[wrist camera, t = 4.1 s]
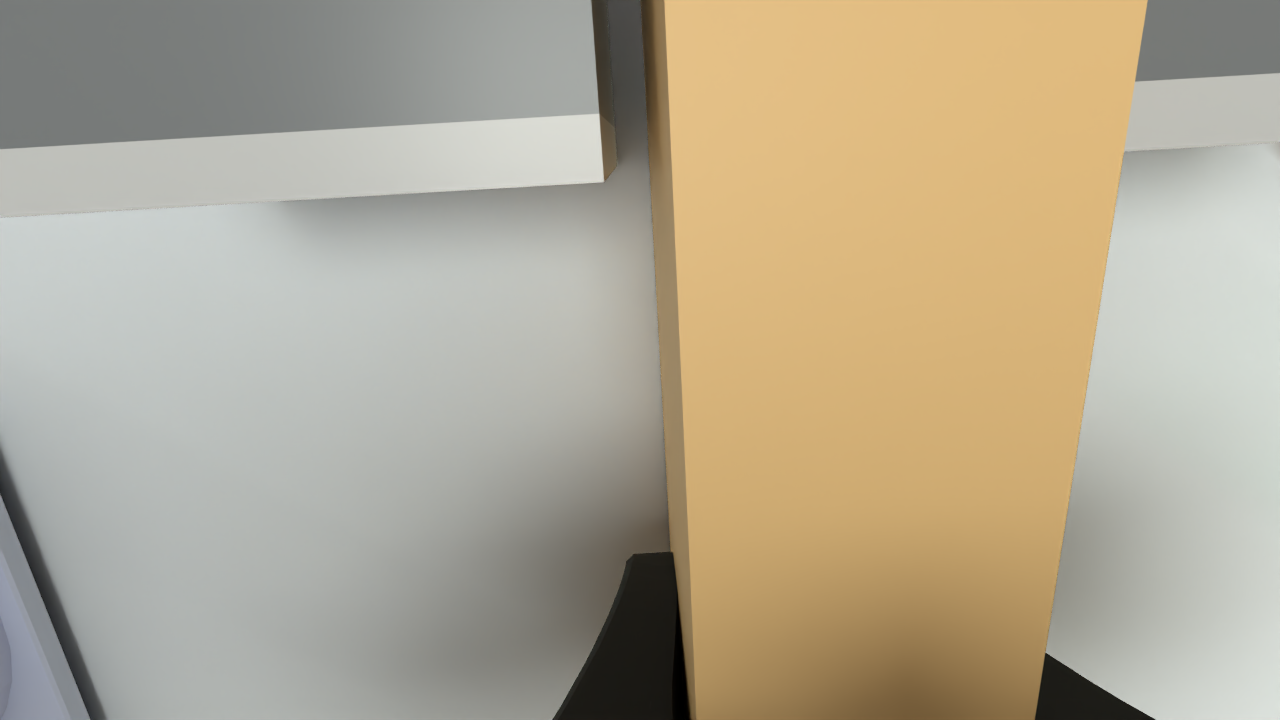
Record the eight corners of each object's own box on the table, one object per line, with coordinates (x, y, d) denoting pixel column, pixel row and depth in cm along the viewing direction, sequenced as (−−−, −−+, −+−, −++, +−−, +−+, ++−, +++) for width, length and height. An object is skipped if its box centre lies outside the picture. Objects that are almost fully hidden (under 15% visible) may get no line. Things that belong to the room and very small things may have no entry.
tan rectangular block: (677, 680, 12) (715, 1146, 7) (636, -64, 9) (642, -483, 3) (812, 672, 12) (970, 1135, 7) (831, -77, 9) (1231, -527, 3)
